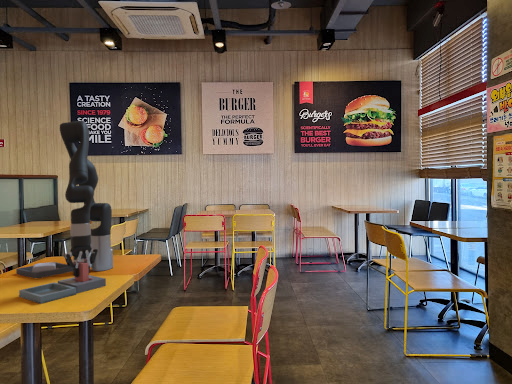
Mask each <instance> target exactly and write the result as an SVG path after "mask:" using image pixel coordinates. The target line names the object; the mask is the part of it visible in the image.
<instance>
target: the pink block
mask: <svg viewBox="0 0 512 384" xmlns="http://www.w3.org/2000/svg"><path fill="white" fill-rule="evenodd" d="M78 268H79V277H75V276H74V277H75V281H79V282H86V281H89V275H90V273H89V265H88V263H85V262H79V266H78Z"/></svg>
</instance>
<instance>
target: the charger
mask: <svg viewBox="0 0 512 384" xmlns="http://www.w3.org/2000/svg"><path fill="white" fill-rule="evenodd" d="M54 262H55V261H51V262H50V261H49V262H41V263H40V262H39V263H35V264H33V265H32V266H33V269H32V272H36V273H38V272H44V271H49V270H54V269H57V268H56V263H54Z"/></svg>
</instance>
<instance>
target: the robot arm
mask: <svg viewBox="0 0 512 384" xmlns="http://www.w3.org/2000/svg"><path fill="white" fill-rule="evenodd" d="M59 133H60V136H61V139H62V142H63V144H64V146H65V148H66V151H67V153H68V156H69V159H70V160H69V164H68V175H69V178H68V180H69V181H68V184H67V186H66V190H65V193H64V197H65V200H66V201H67V202H68V203H70V204H79V203H80V204H83V206H81V207H78V208H74V209H72V210H71V212H70V223H71V224H70V230H69V231H70V247H71V248H70V251H69V252H67V253H64V254H63V258H64V260H65V262H66V263H65V264H67V265H68V267H72V268H73V271H72V275H73V277H79V268H78V266H79V262H80V260H81V259H83V261H84V262H85V263H88V265H89V274H90V273H91V271H95V272H103V271H107V270H111V269H113V268H114V254H113V253H114V252H113V251H114V250H113V248H112V239H111V237H112V236H111V233H112V232H111V231H112V214H113V212H112V211H113V210H112V206H111V204H110V203H108V202H96V201H95V198H94V196H95V191H96V188H97V186H98V183H99V176H98V172H97V169H96V166H95V165H94V164H93V163H94V162H93V163H92V161H91V160H89V159H88V154H89V147H90V145H89V144H90V130H89V127H88V125H87V123H86V122H85V121H83V120H76V121H75V120H73V121H69V122H67V121H66V122H61V123H60V124H59ZM76 143H79V145H78V148H77V146H76V145H75V144H76ZM91 222H100V225H99V226H98V227H95V228H91ZM89 253H91V255H90V257H89ZM72 256H73V258H72ZM90 265H91V267H90Z"/></svg>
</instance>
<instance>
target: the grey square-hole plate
mask: <svg viewBox="0 0 512 384" xmlns="http://www.w3.org/2000/svg"><path fill="white" fill-rule="evenodd" d="M106 279H107V278H104V277H100V276H95V275H91V274H89V281H86V282H79V281H75V276H72V277H69V278H65V279H61V280H57V283H59V284H63V285H67V286H71V287H75V288H76V294H80V293H85V292H87V291H91V290H94V289H95V290H96V289H100V288H103V287H106V286H107V284H106V283H107V282H106V281H107V280H106Z"/></svg>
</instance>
